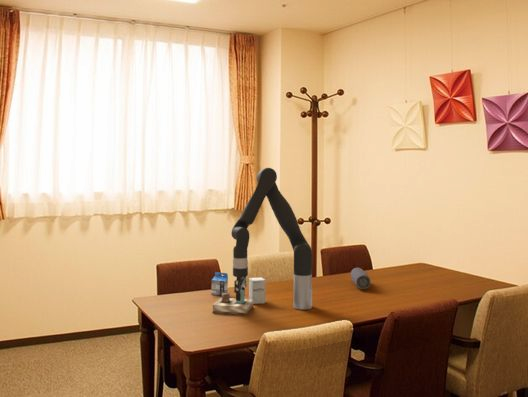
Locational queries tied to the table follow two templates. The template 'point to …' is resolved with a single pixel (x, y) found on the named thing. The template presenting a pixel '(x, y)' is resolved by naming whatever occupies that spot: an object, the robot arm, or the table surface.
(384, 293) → the table surface
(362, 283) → the bluetooth speaker
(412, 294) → the table surface
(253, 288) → the supplement box
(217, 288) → the label tape box
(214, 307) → the peg board
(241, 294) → the teal pin
